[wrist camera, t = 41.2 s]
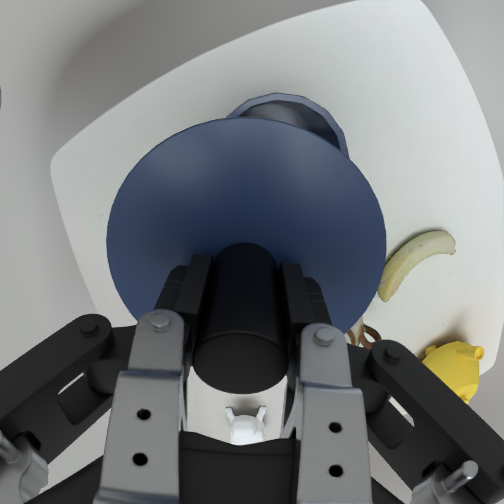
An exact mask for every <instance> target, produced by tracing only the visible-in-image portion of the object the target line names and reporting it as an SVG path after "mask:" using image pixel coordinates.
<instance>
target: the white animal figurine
mask: <svg viewBox="0 0 504 504" xmlns="http://www.w3.org/2000/svg"><path fill="white" fill-rule="evenodd" d="M225 411H226V414H227V416H228V418H229V421H230V439H231V443H234V444H237V445H247V444H253V443H258V442H264V441H265V424H264V422H263V421H262V419H263V416H264V414H265V412H266V407H260V408H259V413H258V414H257V416H256V417H253V416H248V415H240V416H236V417H235V416H234V415H233V411H232V409H231V408H226V409H225Z"/></svg>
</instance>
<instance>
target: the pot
mask: <svg viewBox="0 0 504 504" xmlns="http://www.w3.org/2000/svg"><path fill="white" fill-rule="evenodd" d="M231 117H262V118H268V119H273V120H279V121H283V122H286V123H289V124H292V125H295V126H298V127H301V128H304V129H306V130H308V131H310V132H312V133H314V134H316V135H318V136H320V137H321V138H323V139H325V140H327V141H328V142H329V143H331V144H332V145H333V146H335V147H336V148H338V149H339V150H340V151H342V152H343V153H344V154H345V155H346V156H347V157H348V158H349V154H348V149H347V145H346V141H345V136H344V133H343V131H342V130H341V128H340V127H339V126H338V124H337V123H336V121H335V120H334V119H333V117H332V116H331V115H330V113H329V112H328V111H327V110H325V109H324V108H322V107H321V106H319V105H317V104H316V103H314V102H312V101H311V100H309V99H307V98H306V97H303V96H298V95H291V94H283V93H271V94H268V95H264V96H260V97H256V98H253V99H249V100H247V101H246V102H244V103H243V104H242V105H241V106H239V107H238V108H237V109H236V110H234V111H233V112H232V113H231V114H229V115H228V116H227V117H226V118H231Z"/></svg>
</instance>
